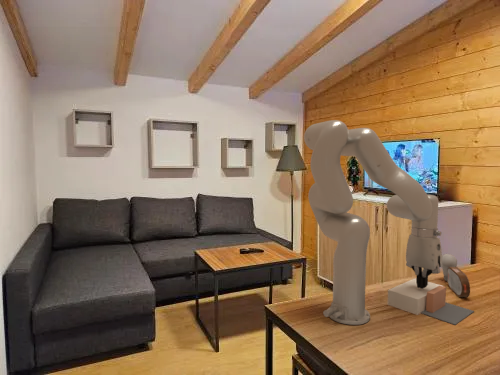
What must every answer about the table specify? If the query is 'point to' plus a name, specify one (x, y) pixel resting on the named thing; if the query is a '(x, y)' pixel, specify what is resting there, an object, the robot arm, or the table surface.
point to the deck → (410, 296)
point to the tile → (436, 299)
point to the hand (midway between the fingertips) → (421, 287)
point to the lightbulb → (448, 263)
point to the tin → (458, 282)
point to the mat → (449, 313)
